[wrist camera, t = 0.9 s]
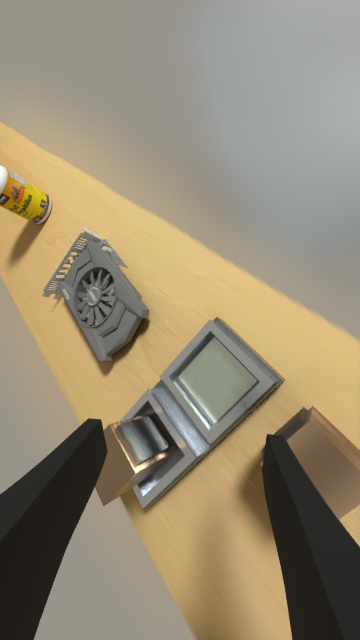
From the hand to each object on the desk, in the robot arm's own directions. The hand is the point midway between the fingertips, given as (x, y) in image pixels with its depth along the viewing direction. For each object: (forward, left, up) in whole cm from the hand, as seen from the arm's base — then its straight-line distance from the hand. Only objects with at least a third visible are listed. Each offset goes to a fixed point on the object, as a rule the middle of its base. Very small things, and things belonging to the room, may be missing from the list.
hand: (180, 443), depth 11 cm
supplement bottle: (+47, +4, -12) cm, 49 cm away
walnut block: (-5, -2, -12) cm, 13 cm away
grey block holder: (+3, +5, -12) cm, 14 cm away
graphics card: (+22, +6, -13) cm, 26 cm away
